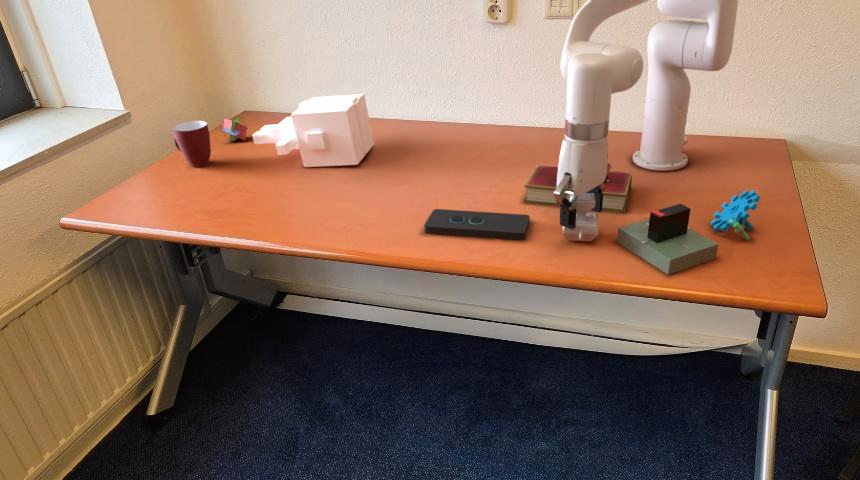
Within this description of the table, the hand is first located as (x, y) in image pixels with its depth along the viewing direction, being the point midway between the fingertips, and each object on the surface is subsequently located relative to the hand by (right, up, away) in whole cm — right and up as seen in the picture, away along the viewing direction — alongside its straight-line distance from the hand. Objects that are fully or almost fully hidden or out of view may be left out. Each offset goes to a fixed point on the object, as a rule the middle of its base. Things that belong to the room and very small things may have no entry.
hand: (581, 218), depth 125 cm
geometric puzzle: (-85, +27, +57) cm, 106 cm away
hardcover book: (+3, +7, +18) cm, 19 cm away
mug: (-90, +18, +43) cm, 102 cm away
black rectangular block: (+15, -4, -5) cm, 16 cm away
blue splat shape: (+29, -2, +2) cm, 30 cm away
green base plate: (+15, -6, -3) cm, 16 cm away
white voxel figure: (-60, +20, +44) cm, 77 cm away
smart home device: (-19, -1, +7) cm, 21 cm away
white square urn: (0, -4, +2) cm, 4 cm away
